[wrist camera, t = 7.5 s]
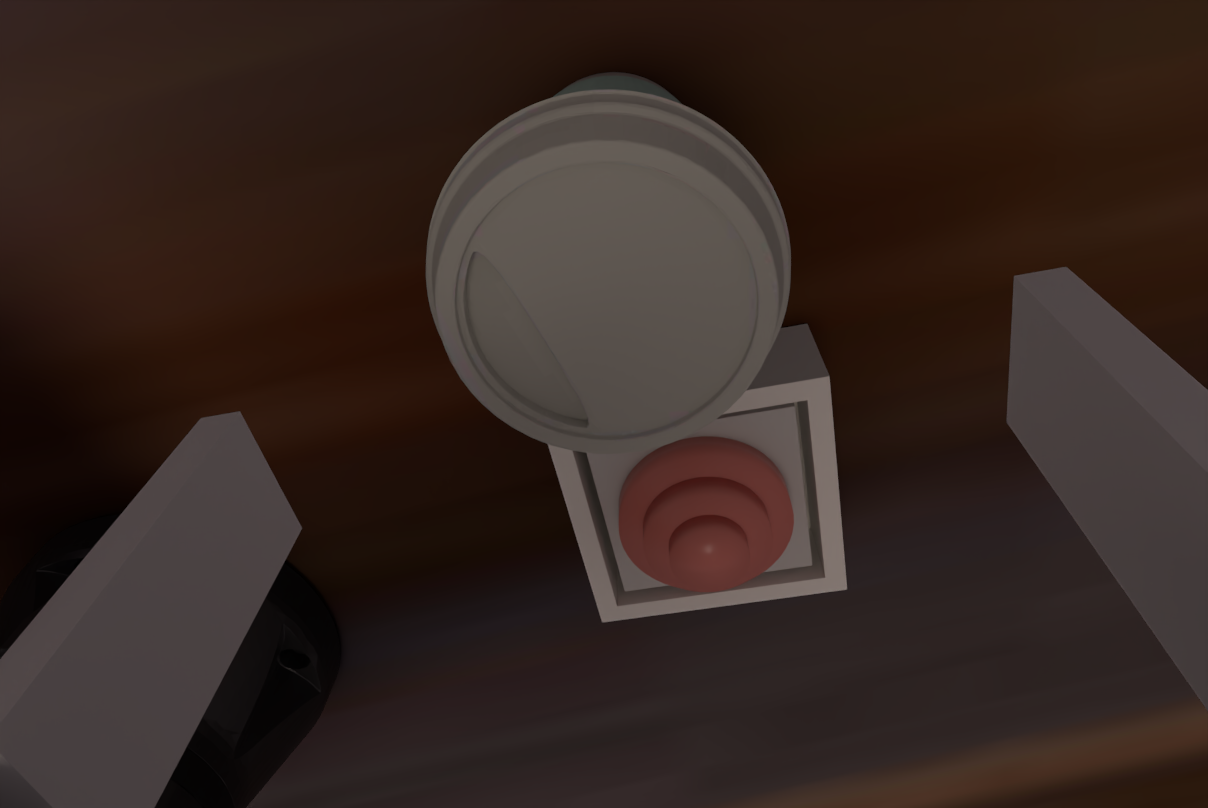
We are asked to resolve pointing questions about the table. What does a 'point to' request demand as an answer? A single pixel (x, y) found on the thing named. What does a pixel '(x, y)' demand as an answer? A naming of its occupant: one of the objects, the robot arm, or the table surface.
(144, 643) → the robot arm
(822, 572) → the popper housing
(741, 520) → the dome plunger
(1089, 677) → the table surface
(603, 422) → the coffee cup
